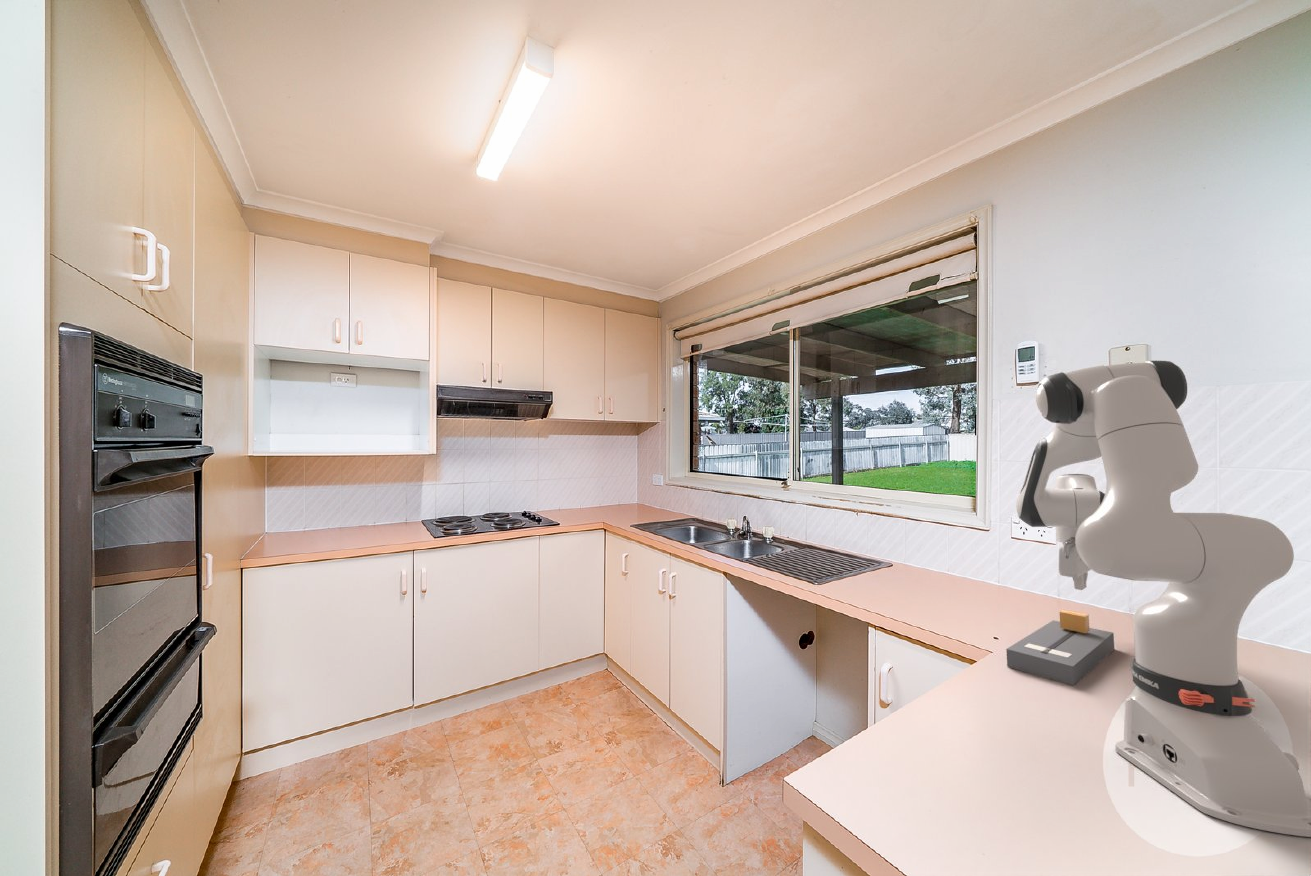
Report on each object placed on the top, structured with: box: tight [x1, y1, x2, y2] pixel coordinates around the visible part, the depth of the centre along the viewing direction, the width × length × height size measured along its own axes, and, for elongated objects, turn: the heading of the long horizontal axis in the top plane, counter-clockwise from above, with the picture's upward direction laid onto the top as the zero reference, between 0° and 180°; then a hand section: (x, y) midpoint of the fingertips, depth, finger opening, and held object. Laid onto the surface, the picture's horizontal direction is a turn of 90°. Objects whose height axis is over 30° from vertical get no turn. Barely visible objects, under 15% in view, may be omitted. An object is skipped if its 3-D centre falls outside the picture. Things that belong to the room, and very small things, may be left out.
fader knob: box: [1059, 609, 1090, 633], centre depth 122 cm, size 3×5×4 cm, turn 35°
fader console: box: [1005, 619, 1115, 687], centre depth 116 cm, size 32×12×4 cm, turn 125°
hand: (1080, 588), depth 127 cm, fingers closed
